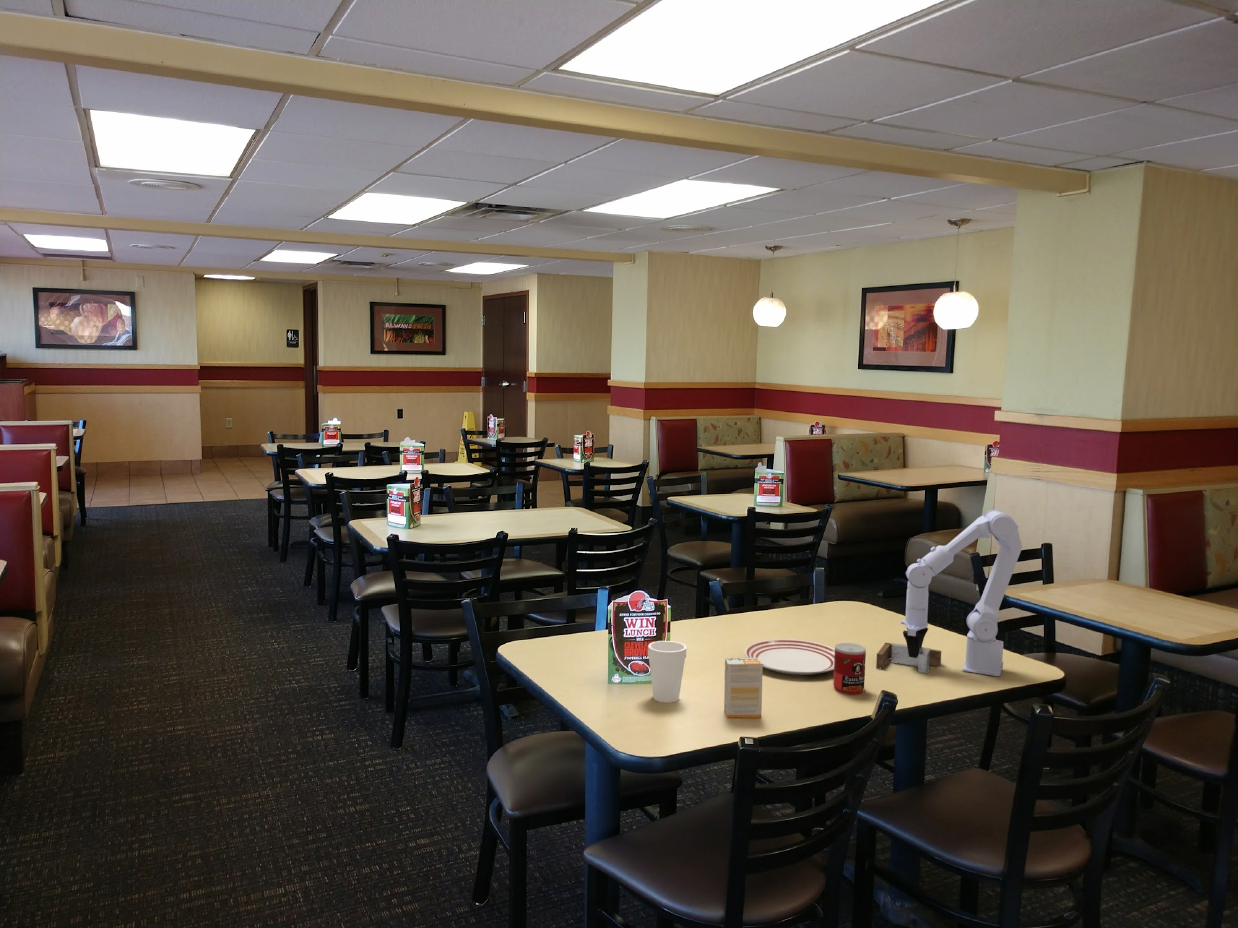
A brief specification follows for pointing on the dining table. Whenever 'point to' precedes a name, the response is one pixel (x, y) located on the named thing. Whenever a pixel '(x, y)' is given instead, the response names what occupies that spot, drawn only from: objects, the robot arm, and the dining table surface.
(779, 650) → the dinner plate
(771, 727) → the dining table surface
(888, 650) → the brown wooden l-shape
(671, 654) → the foam cup
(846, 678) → the canned food
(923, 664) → the bracket
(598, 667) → the dining table surface
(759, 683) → the supplement box
